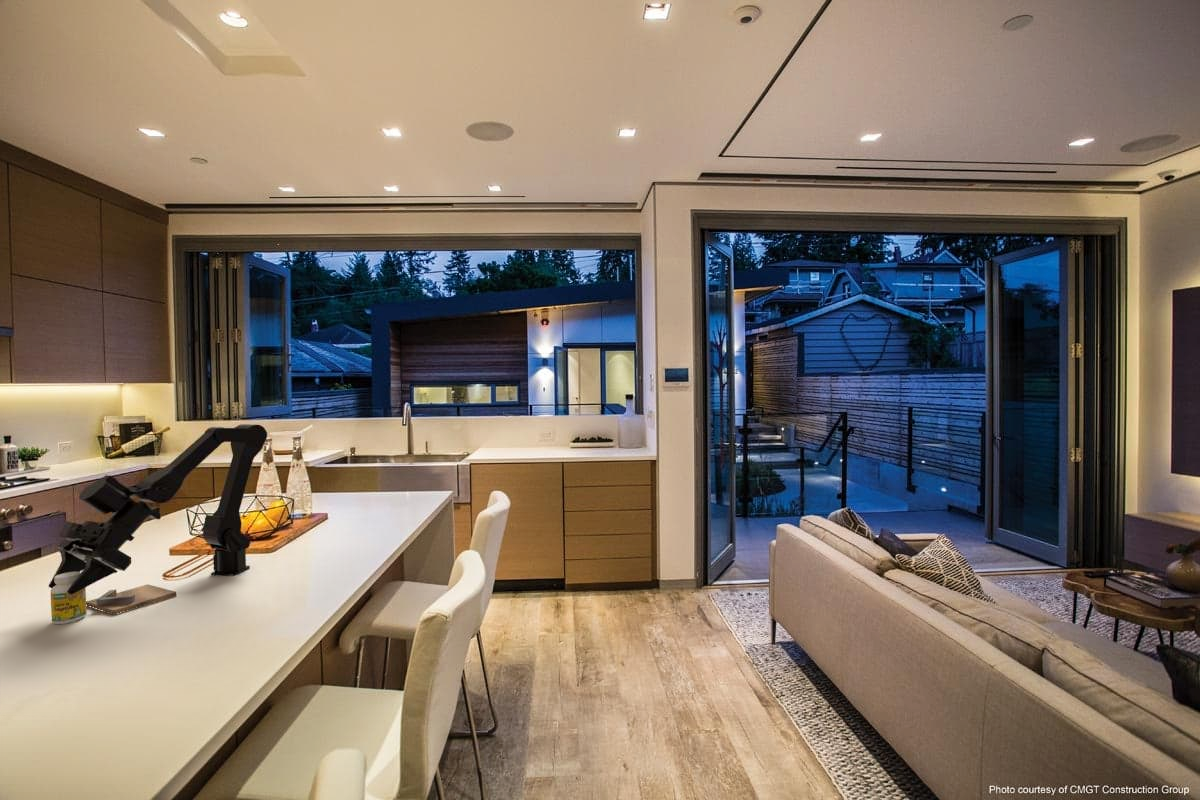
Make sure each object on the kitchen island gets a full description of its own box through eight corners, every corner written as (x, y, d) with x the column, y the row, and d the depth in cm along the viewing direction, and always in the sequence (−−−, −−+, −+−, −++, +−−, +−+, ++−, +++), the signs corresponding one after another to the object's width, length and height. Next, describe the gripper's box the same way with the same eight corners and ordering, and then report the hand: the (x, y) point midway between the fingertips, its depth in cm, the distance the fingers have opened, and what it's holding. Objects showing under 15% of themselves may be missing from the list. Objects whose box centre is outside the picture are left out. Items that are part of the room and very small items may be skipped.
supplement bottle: (89, 612, 122) (87, 568, 122) (83, 620, 117) (82, 575, 117) (55, 618, 119) (53, 573, 119) (48, 627, 114) (46, 580, 114)
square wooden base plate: (148, 588, 136) (147, 578, 136) (176, 595, 131) (176, 585, 131) (84, 606, 125) (83, 595, 125) (112, 615, 120) (111, 604, 120)
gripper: (68, 502, 125) (0, 565, 115) (112, 509, 117) (43, 578, 107) (112, 528, 132) (52, 590, 123) (156, 537, 124) (96, 604, 115)
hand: (59, 590), depth 117 cm, fingers open, 8 cm apart
